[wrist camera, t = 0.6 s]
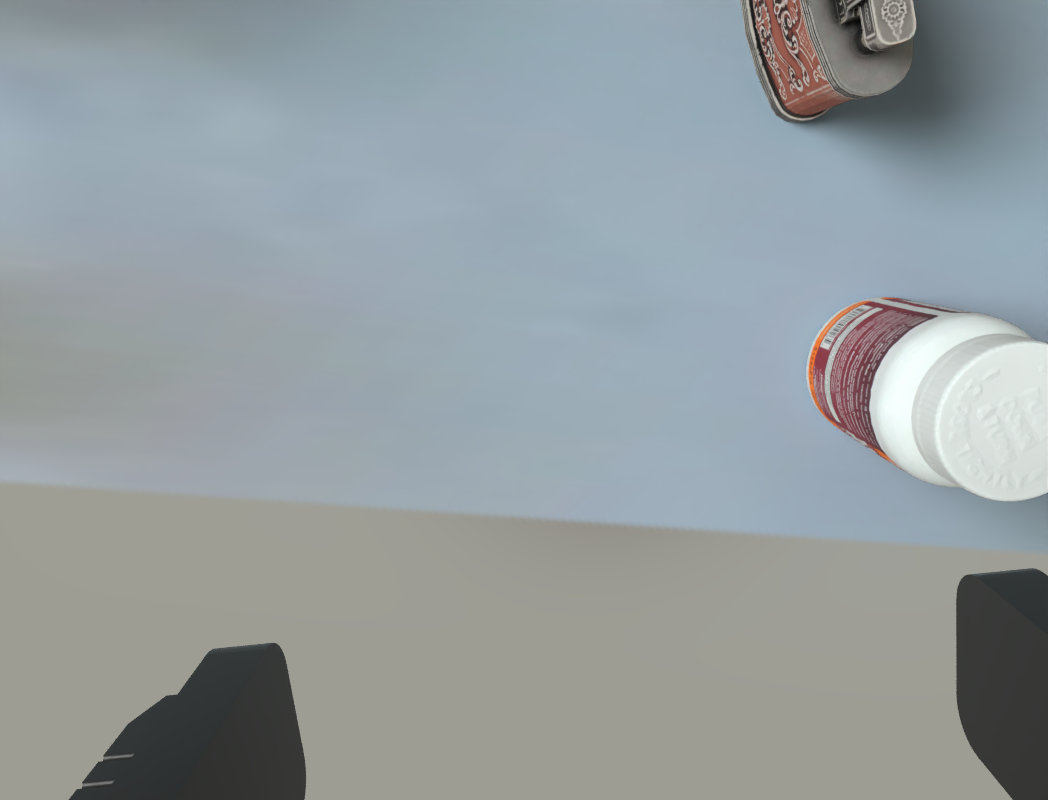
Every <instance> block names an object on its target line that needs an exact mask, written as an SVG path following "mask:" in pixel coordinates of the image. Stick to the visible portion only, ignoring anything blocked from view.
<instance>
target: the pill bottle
mask: <svg viewBox="0 0 1048 800" xmlns="http://www.w3.org/2000/svg"><path fill="white" fill-rule="evenodd" d="M806 379H807V386H808V389H809V393H810V396H811V398H812V400H813V402H814V404H815V406H816V407H817V409H818V410H819V411H820V413H821V414H822V415H823V416H824V417H825V418H826V419H827V420H828V421H829V422H830V423H832V424H833V425H834V426H836V427H837V428H838V429H840V430H841V431H843V432H844V433H846V434H847V435H849V436H850V437H852V438H853V439H855V440H856V441H857V442H859V443H861V444H863V445H864V446H866V447H867V448H869V449H870V450H872V451H873V452H875V453H877V454H878V455H880V456H881V457H883V458H884V459H886V460H887V461H889V462H891V463H893V464H894V465H896V466H897V467H899V468H900V469H902V470H904V471H906V472H907V473H909V474H910V475H912V476H914V477H916V478H918V479H920V480H923V481H925V482H928V483H931V484H934V485H939V486H944V487H962V488H964V489H965V490H967V491H969V492H971V493H973V494H975V495H978V496H980V497H983V498H987V499H991V500H997V501H1021V500H1027V499H1032V498H1035V497H1038V496H1041V495H1044V494H1046V493H1048V343H1045V342H1041V341H1037V340H1034V339H1032V338H1031V337H1030V336H1029V335H1028V334H1027V333H1025V332H1024V331H1023V330H1021V329H1020V328H1018V327H1016V326H1015V325H1013V324H1011V323H1009V322H1007V321H1004V320H1002V319H999V318H996V317H993V316H989V315H985V314H981V313H974V312H969V311H963V310H958V309H953V308H947V307H942V306H937V305H931V304H926V303H921V302H915V301H910V300H904V299H899V298H889V297H878V298H870V299H866V300H862V301H858V302H856V303H853V304H851V305H849V306H846V307H844V308H843V309H841V310H840V311H838V312H837V313H836V314H835V315H833V316H832V317H831V318H830V319H829V320H828V321H827V322H826V323H825V324H824V326H823V327H822V328H821V330H820V331H819V332H818V334H817V336H816V337H815V339H814V341H813V343H812V346H811V349H810V352H809V355H808V360H807V367H806Z"/></svg>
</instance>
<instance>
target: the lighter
mask: <svg viewBox="0 0 1048 800" xmlns="http://www.w3.org/2000/svg"><path fill="white" fill-rule="evenodd" d="M741 7H742V14H743V21H744V28H745V34H746V38H747V41H748V45H749V48H750V52H751V56H752V59H753V63H754V66H755V70H756V73H757V75H758V78H759V80H760V83H761V85H762V87H763V90H764V92H765V95H766V97H767V99H768V102H769V104H770V107H771V109H772V110H773V111H774V113H775V114H776V116H778V117H780V118H781V119H783V120H784V121H788V122H793V123H799V122H806V121H809V120H812V119H814V118H816V117H819V116H821V115H823V114H824V113H826V112H827V111H828V110H829V109H830V108H831V107H833V106H836V105H838V104H841V103H844V102H846V101H849V100H851V99H864V98H871V97H874V96H876V95H879V94H881V93H883V92H886V91H888V90H890V89H892V88H893V87H895V86H896V85H897V84H898V83H899V82H900V81H901V80H903V78H904V77H905V75H906V73H907V72H908V70H909V69H910V67H911V62H912V57H913V35H914V33H915V30H916V17H915V11H914V1H913V0H741Z"/></svg>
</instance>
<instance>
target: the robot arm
mask: <svg viewBox="0 0 1048 800" xmlns="http://www.w3.org/2000/svg"><path fill="white" fill-rule="evenodd" d="M956 601H957V602H956V606H957V607H956V612H957V613H956V614H957V615H956V618H957V619H956V620H957V621H956V622H957V623H956V625H957V626H956V627H957V628H956V630H957V631H956V633H957V634H956V636H957V705H958V710H959V716H960V720H961V723H962V726H963V729H964V732H965V735H966V737H967V739H968V741H969V743H970V745H971V747H972V749H973V750H974V752H975V753H976V755H977V756H978V758H979V759H980V760H981V761H982V762H983V763H984V765H985V766H986V767H987V769H988V770H989V771H990V772H991V773H992V775H993V776H994V777H995V778H996V780H997V781H998V782H999V783H1000V784H1001V786H1002V787H1003V788H1004V789H1005V790H1006V792H1007V793H1008V794H1009V795H1010V797H1011V798H1012V799H1013V800H1048V576H1047V575H1046V574H1044V573H1043V572H1041V571H1039V570H1037V569H1033V568H1032V569H1020V570H1010V571H1000V572H991V573H981V574H971V575H966V576H964V577H963V578H962V579H961V581H960V583H959V586H958V589H957V599H956ZM82 783H83V786H82V789H77V790H76V791H75V792H74V794H73V795H72V796H71V798H70V799H69V800H304V799H305V789H306V768H305V759H304V753H303V747H302V743H301V737H300V732H299V727H298V721H297V716H296V711H295V706H294V701H293V696H292V690H291V685H290V680H289V674H288V669H287V664H286V660H285V656H284V653H283V651H282V649H281V648H280V646H279V645H278V644H276V643H267V644H257V645H247V646H237V647H227V648H217V649H212V650H211V651H209V652H208V654H207V655H206V656H205V657H204V659H203V660H202V662H201V663H200V664H199V666H198V667H197V668H196V670H195V671H194V673H193V674H192V675H191V677H190V678H189V679H188V681H187V682H186V683H185V685H184V686H183V688H182V689H181V691H180V692H179V693H178V695H169V696H165V697H164V698H163V699H161V700H160V701H159V702H157V703H156V704H155V705H153V706H152V707H150V708H149V709H148V710H146V711H145V712H144V713H142V714H141V715H140V716H138V717H137V718H136V719H134V720H133V721H132V722H130V723H129V724H128V725H127V726H126V727H125V729H124V730H123V731H122V732H121V734H120V735H119V736H118V738H117V739H116V740H115V741H114V743H113V744H112V745H111V746H110V748H109V749H108V750H107V752H106V753H105V754H104V759H103V762H98V763H97V764H96V766H95V767H94V768H93V769H92V771H91V772H90V773H89V775H88V776H87V777H86V778H85V780H84V781H83V782H82Z"/></svg>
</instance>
